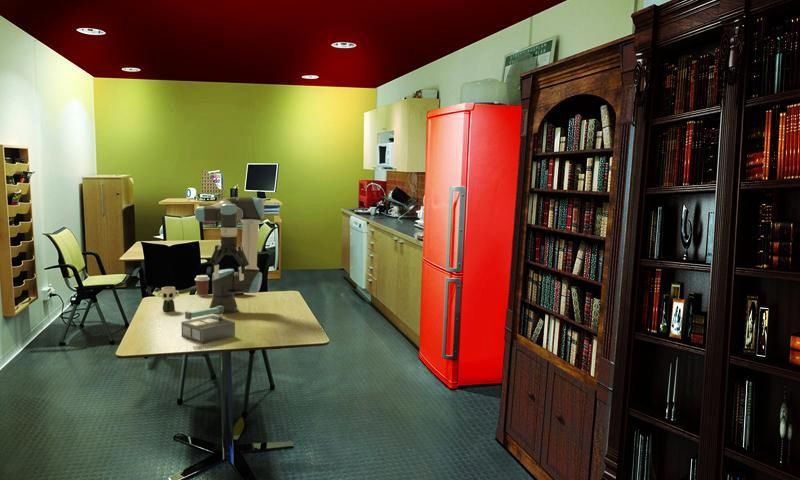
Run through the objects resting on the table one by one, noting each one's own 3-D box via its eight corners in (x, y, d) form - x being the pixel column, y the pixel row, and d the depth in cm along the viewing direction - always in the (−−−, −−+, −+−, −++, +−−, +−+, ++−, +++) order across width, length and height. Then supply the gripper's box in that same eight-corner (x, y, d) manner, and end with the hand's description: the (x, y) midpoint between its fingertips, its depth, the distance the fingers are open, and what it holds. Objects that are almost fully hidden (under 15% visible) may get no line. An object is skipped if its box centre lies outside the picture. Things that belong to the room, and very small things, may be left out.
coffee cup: (191, 295, 354) (191, 276, 352) (201, 292, 362) (201, 274, 361) (203, 296, 350) (203, 277, 349) (213, 294, 359) (212, 275, 358)
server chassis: (181, 336, 266) (180, 315, 264) (213, 329, 279) (213, 308, 278) (202, 344, 254) (202, 322, 253) (234, 336, 268) (234, 315, 267)
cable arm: (221, 311, 273) (221, 305, 273) (225, 312, 271) (224, 306, 271) (185, 318, 258) (185, 311, 258) (189, 319, 256) (188, 312, 256)
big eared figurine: (157, 312, 308) (157, 289, 307) (158, 309, 315) (158, 286, 314) (178, 311, 312) (178, 288, 310) (179, 308, 318) (179, 286, 317)
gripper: (201, 235, 271) (202, 278, 274) (248, 238, 265) (248, 282, 267) (210, 234, 278) (210, 276, 281) (256, 236, 272) (256, 279, 275)
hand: (229, 279), depth 274 cm, fingers open, 13 cm apart
